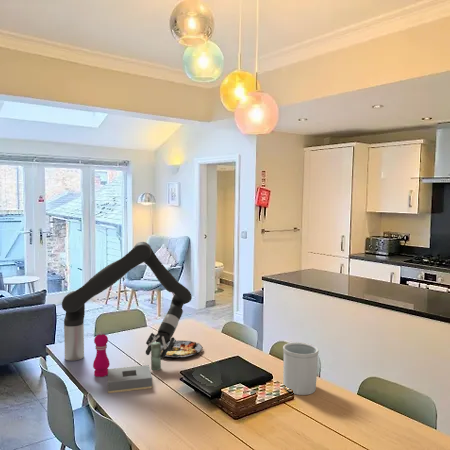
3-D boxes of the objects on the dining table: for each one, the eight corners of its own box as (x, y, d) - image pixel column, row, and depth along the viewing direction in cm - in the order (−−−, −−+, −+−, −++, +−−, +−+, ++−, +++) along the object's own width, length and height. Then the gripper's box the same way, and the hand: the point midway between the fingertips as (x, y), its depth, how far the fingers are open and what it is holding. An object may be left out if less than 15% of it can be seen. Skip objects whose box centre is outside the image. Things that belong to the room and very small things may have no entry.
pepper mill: (104, 378, 187) (104, 334, 186) (90, 376, 188) (89, 333, 187) (112, 371, 194) (112, 329, 193) (98, 370, 195) (97, 328, 194)
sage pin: (150, 367, 199) (150, 342, 199) (160, 366, 201) (160, 341, 200) (151, 370, 195) (151, 345, 194) (161, 369, 196) (161, 344, 196)
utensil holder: (295, 377, 190) (296, 339, 188) (324, 388, 179) (325, 348, 178) (275, 387, 179) (275, 347, 178) (304, 399, 169) (305, 357, 168)
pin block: (107, 379, 186) (107, 369, 186) (148, 374, 191) (148, 364, 191) (108, 393, 173) (107, 382, 172) (152, 388, 178) (152, 377, 177)
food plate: (205, 344, 230) (205, 338, 230) (198, 361, 207) (198, 354, 207) (160, 343, 233) (160, 337, 233) (149, 360, 210) (149, 353, 209)
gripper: (153, 319, 207) (138, 349, 197) (177, 324, 200) (162, 355, 190) (160, 327, 212) (146, 356, 202) (183, 331, 205) (169, 362, 195)
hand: (154, 356), depth 196 cm, fingers open, 8 cm apart
